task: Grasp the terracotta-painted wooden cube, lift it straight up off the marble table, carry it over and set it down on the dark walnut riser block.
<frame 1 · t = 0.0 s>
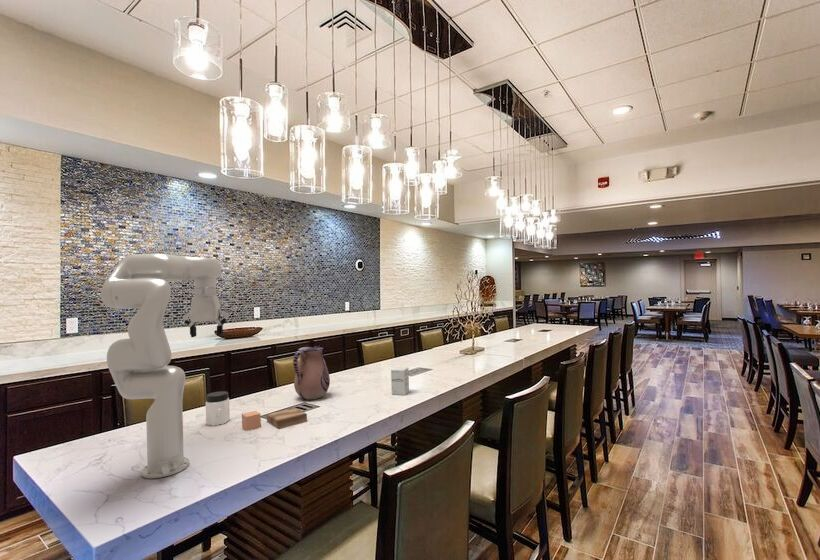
hand: (206, 336, 153), 37 cm above the countertop, tool pointing down, fingers open, 9 cm apart
cube: (251, 427, 155), on the countertop
ceramic pitcher: (310, 398, 194), on the countertop
jar: (218, 423, 162), on the countertop
walnut riser: (287, 421, 160), on the countertop
supplement box: (400, 393, 197), on the countertop
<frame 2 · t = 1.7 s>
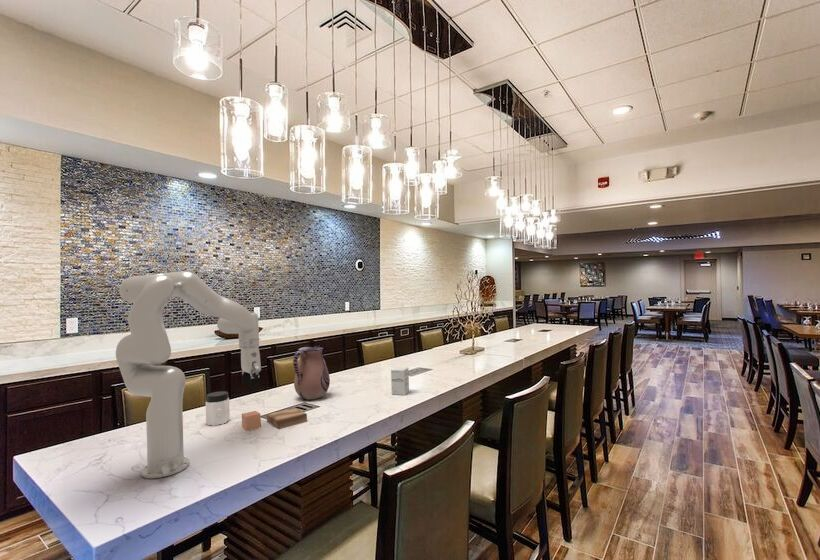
hand: (250, 386, 156), 16 cm above the countertop, tool pointing down, fingers open, 9 cm apart
nothing on the countertop moved.
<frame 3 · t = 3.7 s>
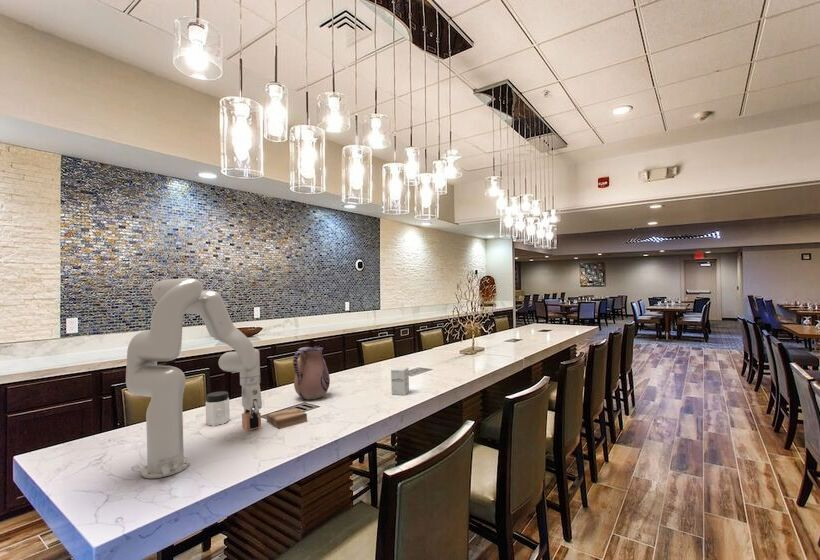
hand: (251, 425, 155), 1 cm above the countertop, tool pointing down, fingers closed on cube, 5 cm apart
cube: (251, 427, 155), on the countertop, touching gripper
everything else where it was.
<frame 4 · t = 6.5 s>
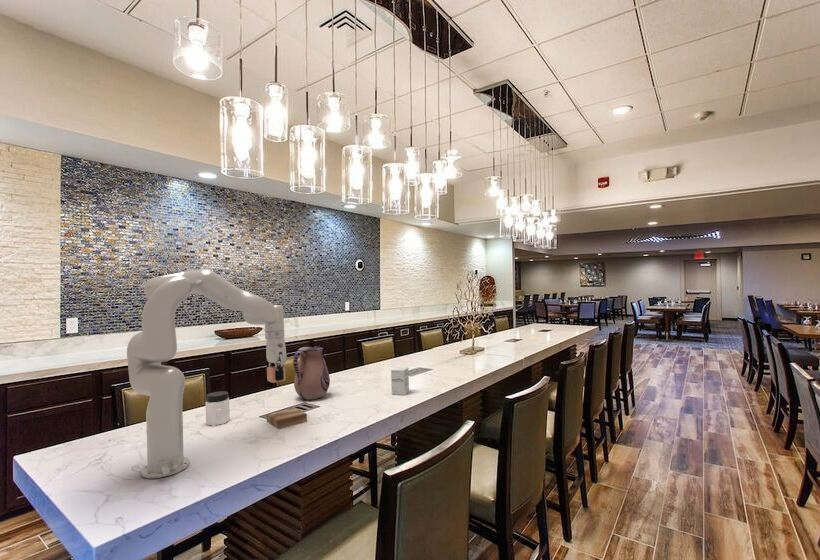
hand: (276, 378, 159), 18 cm above the countertop, tool pointing down, fingers closed on cube, 5 cm apart
cube: (276, 380, 159), point 17 cm above the countertop, touching gripper
everything else where it was.
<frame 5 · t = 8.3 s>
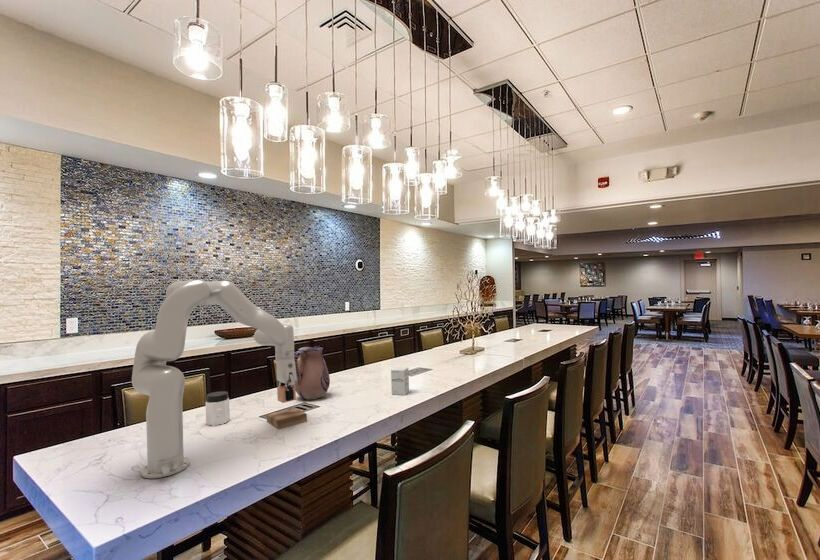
hand: (286, 398, 161), 10 cm above the countertop, tool pointing down, fingers closed on cube, 5 cm apart
cube: (286, 400, 161), point 9 cm above the countertop, touching gripper
everything else where it was.
when the fingers open (5 cm above the countertop, at t = 9.6 s): cube stays where it is, resting on walnut riser.
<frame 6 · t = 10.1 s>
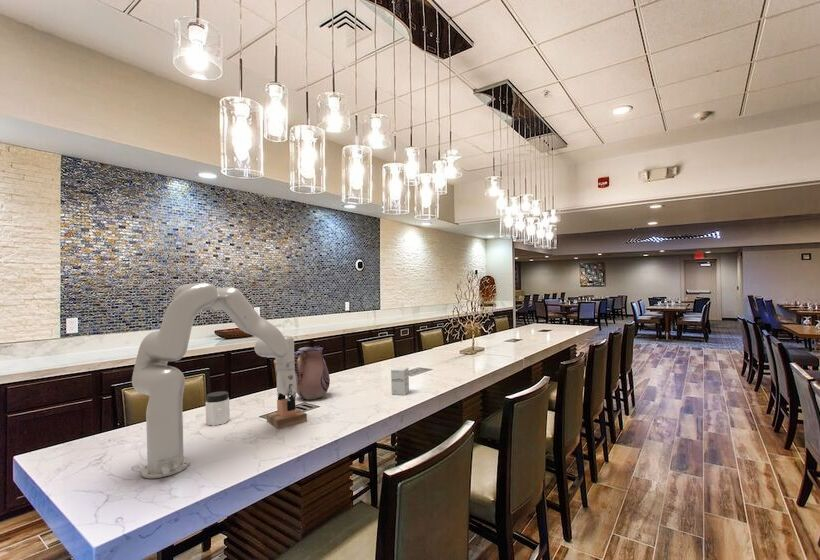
hand: (286, 407, 160), 6 cm above the countertop, tool pointing down, fingers open, 9 cm apart
cube: (286, 413, 160), point 3 cm above the countertop, touching walnut riser
everything else where it was.
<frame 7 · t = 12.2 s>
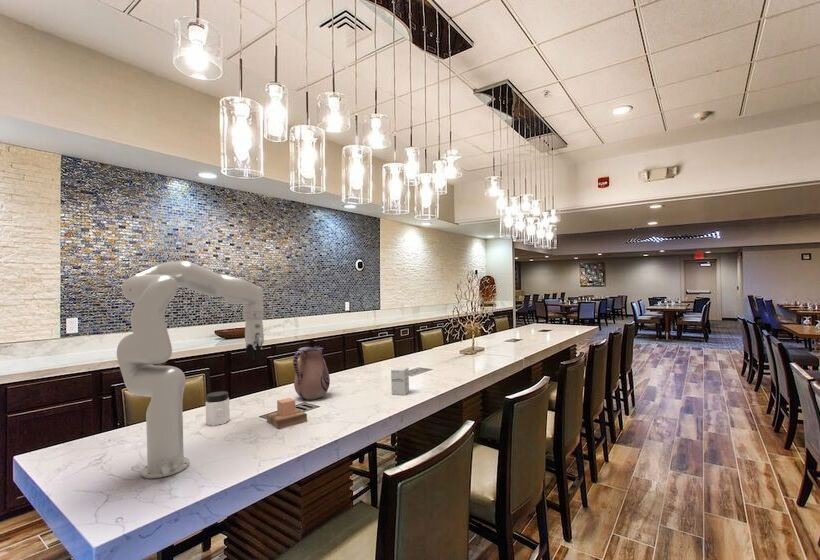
hand: (253, 358, 158), 27 cm above the countertop, tool pointing down, fingers open, 9 cm apart
nothing on the countertop moved.
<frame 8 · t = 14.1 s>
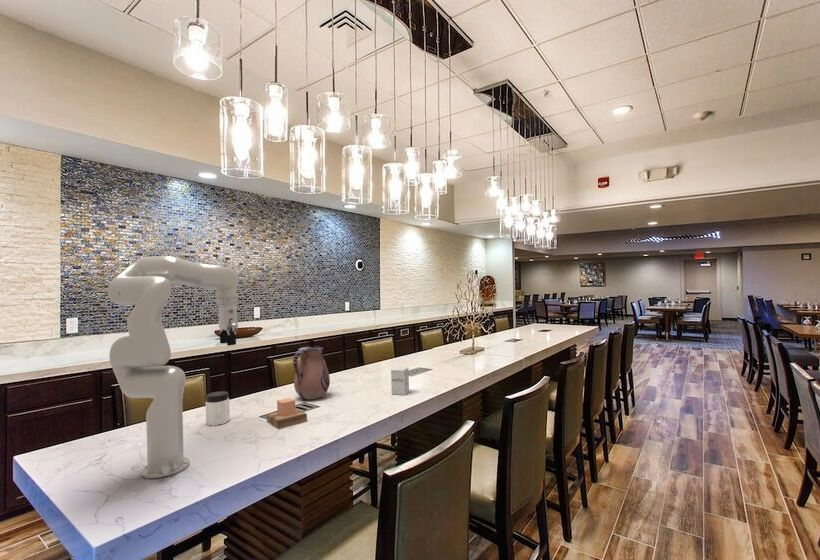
hand: (228, 344, 157), 33 cm above the countertop, tool pointing down, fingers open, 9 cm apart
nothing on the countertop moved.
at the end: cube inside the target area on the walnut riser (0.1 cm from its centre), point 3.1 cm above the walnut riser's base; cube tilted 0°; the gripper is holding nothing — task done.
